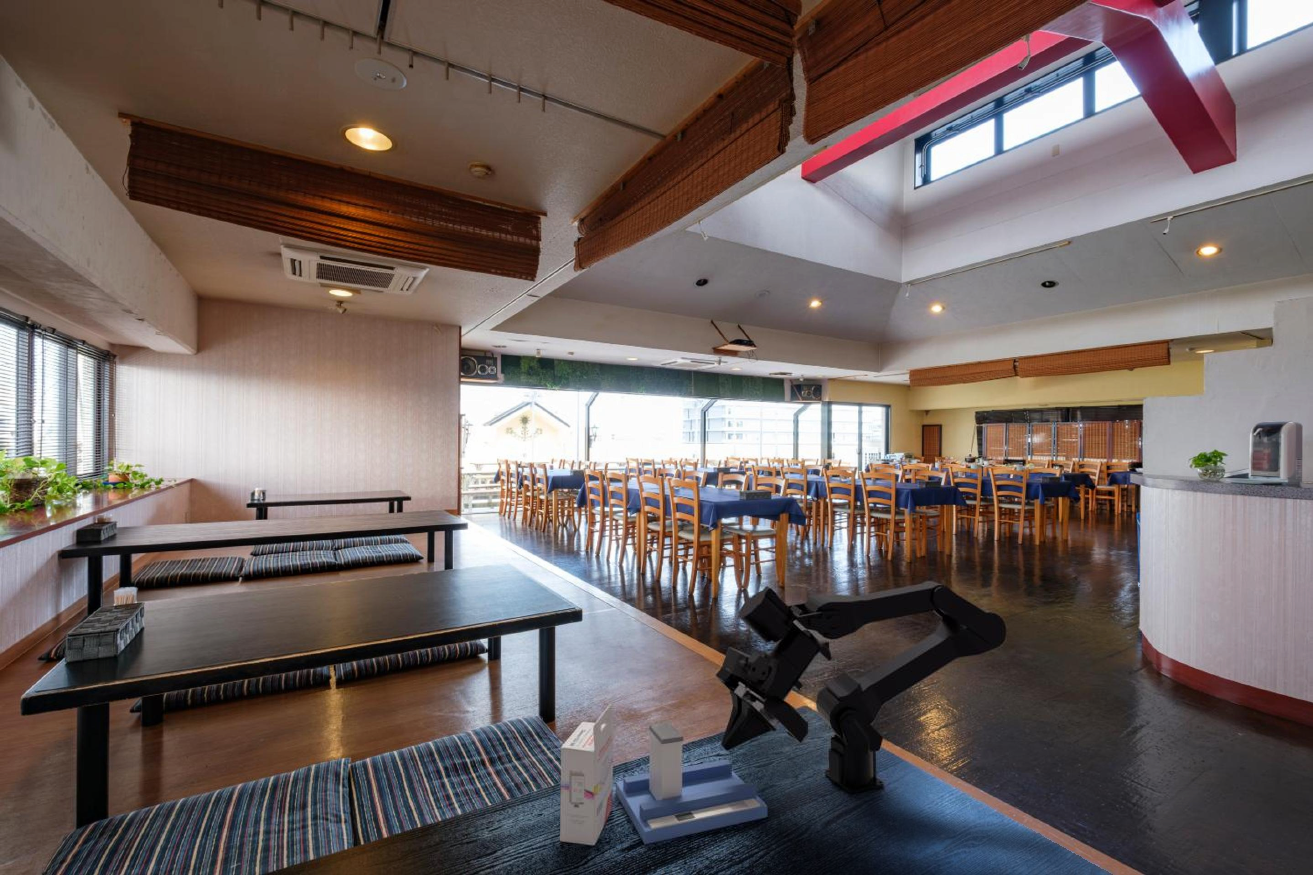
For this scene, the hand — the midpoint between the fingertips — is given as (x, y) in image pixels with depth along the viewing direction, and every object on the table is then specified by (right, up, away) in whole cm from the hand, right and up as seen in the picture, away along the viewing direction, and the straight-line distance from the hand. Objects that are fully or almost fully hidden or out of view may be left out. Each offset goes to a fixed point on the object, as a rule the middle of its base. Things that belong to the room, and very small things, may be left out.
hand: (723, 747), depth 84 cm
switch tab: (-9, -5, -4) cm, 11 cm away
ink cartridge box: (-19, -6, -8) cm, 22 cm away
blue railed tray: (-5, -7, -2) cm, 9 cm away
